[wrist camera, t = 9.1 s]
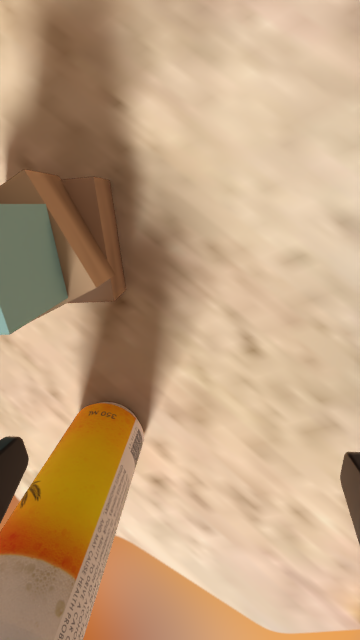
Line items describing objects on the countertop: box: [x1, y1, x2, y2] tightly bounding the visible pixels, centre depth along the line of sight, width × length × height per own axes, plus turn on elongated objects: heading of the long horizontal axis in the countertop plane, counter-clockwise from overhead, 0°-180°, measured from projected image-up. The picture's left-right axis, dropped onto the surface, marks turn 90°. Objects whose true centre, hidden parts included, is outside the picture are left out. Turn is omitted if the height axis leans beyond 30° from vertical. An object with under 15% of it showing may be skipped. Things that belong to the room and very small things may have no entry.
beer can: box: [0, 402, 144, 640], centre depth 18 cm, size 6×6×15 cm
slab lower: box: [61, 177, 126, 303], centre depth 18 cm, size 7×7×3 cm
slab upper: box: [0, 169, 116, 322], centre depth 16 cm, size 6×6×3 cm
